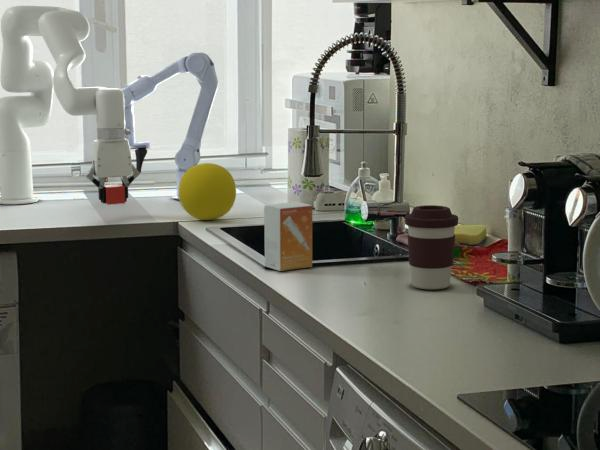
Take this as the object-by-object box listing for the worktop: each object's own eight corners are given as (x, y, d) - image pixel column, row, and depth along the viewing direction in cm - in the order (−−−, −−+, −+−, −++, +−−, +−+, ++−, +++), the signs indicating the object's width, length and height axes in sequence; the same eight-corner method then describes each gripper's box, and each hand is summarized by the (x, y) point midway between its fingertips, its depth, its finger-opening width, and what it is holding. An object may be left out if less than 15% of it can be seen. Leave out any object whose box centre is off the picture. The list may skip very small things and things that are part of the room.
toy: (226, 213, 288) (225, 159, 285) (243, 221, 274) (242, 164, 271) (173, 217, 282) (171, 161, 280) (187, 225, 268) (186, 167, 266)
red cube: (125, 203, 282) (124, 186, 281) (107, 204, 280) (106, 187, 279) (120, 200, 286) (119, 184, 286) (102, 202, 284) (101, 185, 283)
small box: (280, 271, 212) (279, 208, 209) (264, 266, 217) (263, 204, 215) (313, 267, 216) (313, 204, 214) (296, 262, 221) (296, 201, 219)
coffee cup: (400, 280, 202) (400, 204, 200) (450, 279, 203) (451, 203, 201) (409, 292, 193) (410, 212, 190) (462, 291, 193) (463, 211, 191)
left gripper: (137, 132, 287) (139, 198, 290) (76, 135, 280) (79, 202, 283) (146, 134, 280) (148, 201, 283) (83, 137, 273) (86, 206, 276)
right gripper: (143, 126, 323) (145, 170, 325) (97, 128, 316) (99, 173, 318) (151, 128, 316) (152, 172, 319) (104, 130, 310) (106, 175, 312)
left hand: (113, 201), depth 283 cm, fingers closed on red cube, 5 cm apart
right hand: (126, 173), depth 318 cm, fingers open, 7 cm apart
